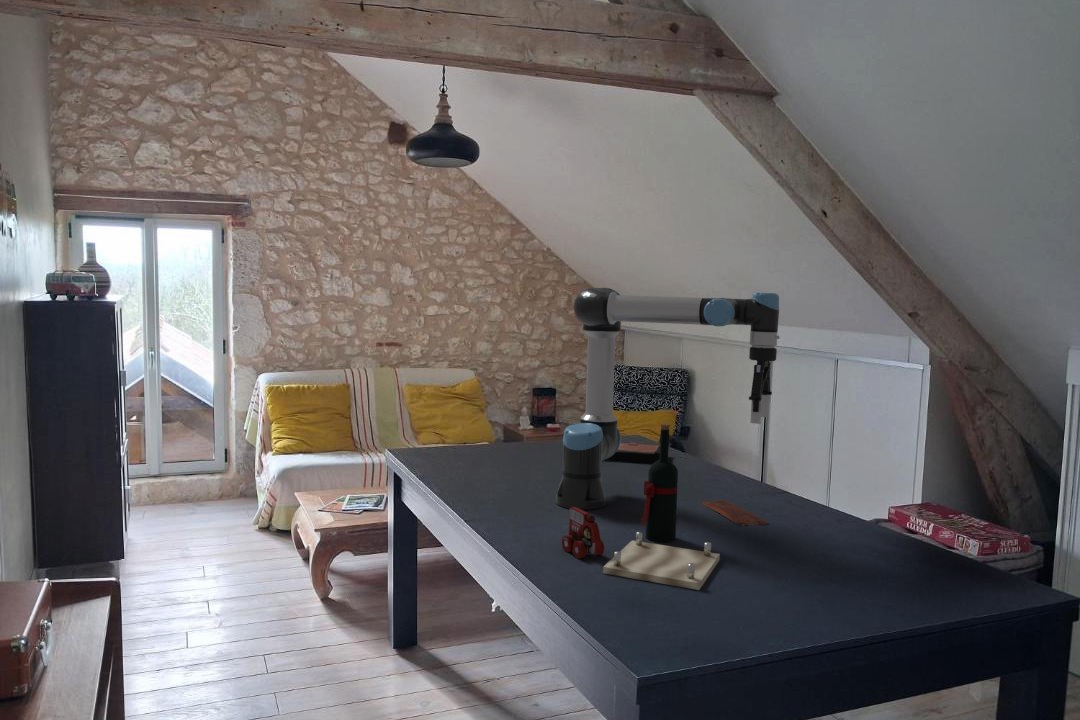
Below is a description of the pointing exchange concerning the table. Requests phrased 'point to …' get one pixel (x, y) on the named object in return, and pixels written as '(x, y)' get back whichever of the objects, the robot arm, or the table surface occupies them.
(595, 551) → the toy fire truck
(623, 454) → the book
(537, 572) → the table surface
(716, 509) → the wooden tablet
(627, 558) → the standoff plate
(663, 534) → the wine bottle
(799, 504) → the table surface
